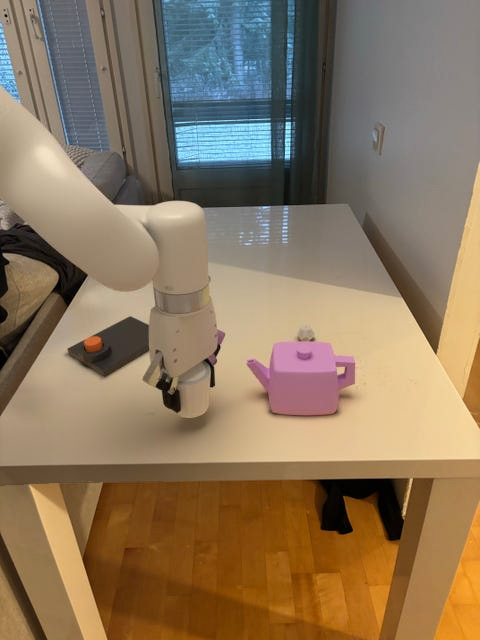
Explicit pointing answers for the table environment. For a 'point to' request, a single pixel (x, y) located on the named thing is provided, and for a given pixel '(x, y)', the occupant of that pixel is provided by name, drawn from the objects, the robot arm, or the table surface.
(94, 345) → the button
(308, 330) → the game die
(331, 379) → the teapot
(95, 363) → the scale
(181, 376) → the beige cup
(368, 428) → the table surface
